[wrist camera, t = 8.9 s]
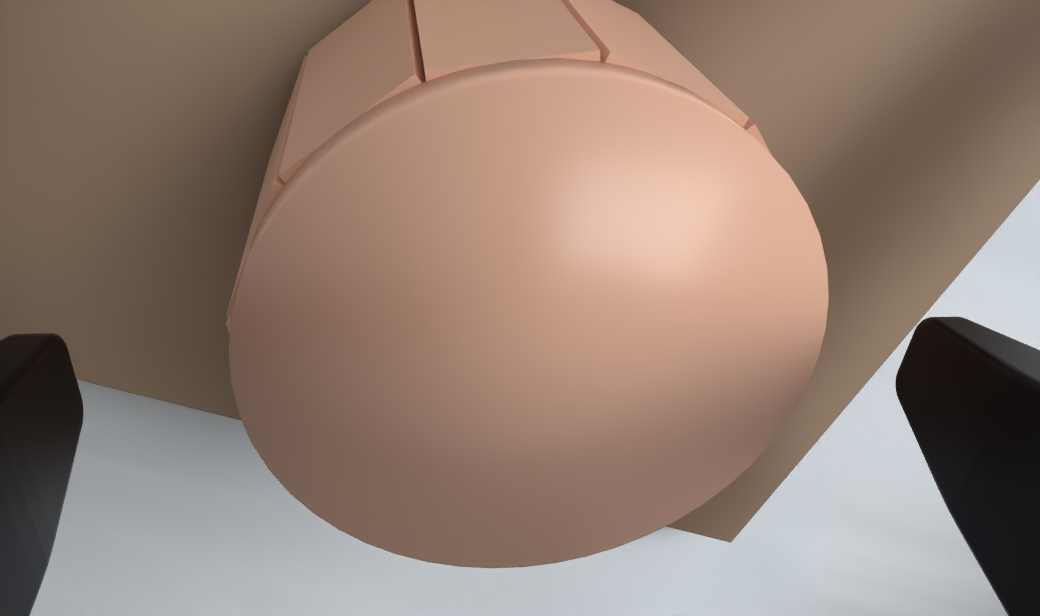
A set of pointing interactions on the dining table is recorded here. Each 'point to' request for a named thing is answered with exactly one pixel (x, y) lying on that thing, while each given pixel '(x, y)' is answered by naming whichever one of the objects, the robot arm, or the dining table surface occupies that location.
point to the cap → (517, 284)
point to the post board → (329, 3)
